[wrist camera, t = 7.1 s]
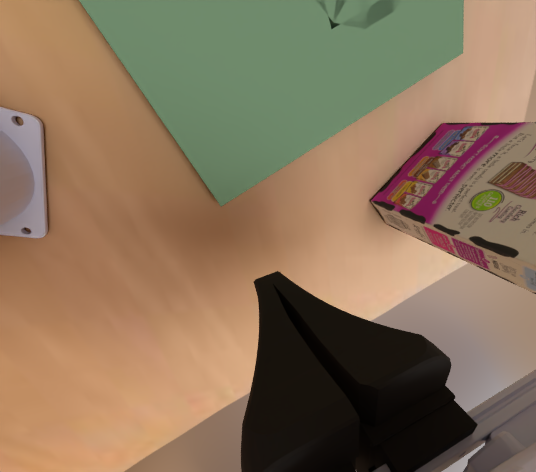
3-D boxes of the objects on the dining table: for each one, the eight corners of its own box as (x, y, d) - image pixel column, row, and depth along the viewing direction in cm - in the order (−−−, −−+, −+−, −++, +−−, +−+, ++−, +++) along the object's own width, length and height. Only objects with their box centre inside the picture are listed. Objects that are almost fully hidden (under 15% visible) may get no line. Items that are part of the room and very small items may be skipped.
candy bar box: (386, 225, 28) (596, 328, 14) (367, 200, 25) (603, 296, 11) (455, 154, 26) (762, 186, 12) (443, 120, 24) (814, 112, 10)
